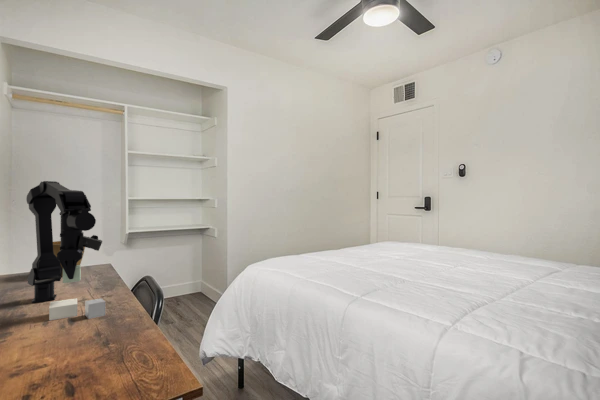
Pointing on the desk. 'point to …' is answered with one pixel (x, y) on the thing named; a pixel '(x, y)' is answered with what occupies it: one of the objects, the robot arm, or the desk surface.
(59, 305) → the cream block
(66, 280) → the sage cube
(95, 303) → the grey cube
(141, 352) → the desk surface
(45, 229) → the robot arm
